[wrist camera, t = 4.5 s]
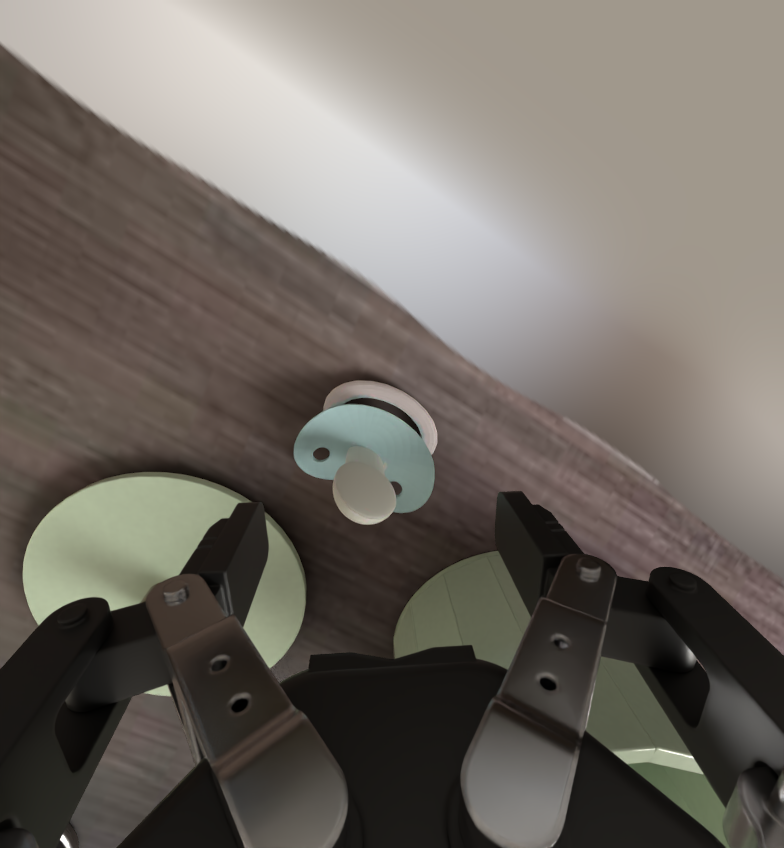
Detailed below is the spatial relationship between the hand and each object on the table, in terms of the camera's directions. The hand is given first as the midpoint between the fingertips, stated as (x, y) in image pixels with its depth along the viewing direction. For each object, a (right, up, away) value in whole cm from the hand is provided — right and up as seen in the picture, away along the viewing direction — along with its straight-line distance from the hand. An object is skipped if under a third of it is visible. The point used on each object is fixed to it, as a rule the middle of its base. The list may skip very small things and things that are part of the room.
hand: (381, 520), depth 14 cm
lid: (-12, -7, +10) cm, 17 cm away
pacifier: (-1, +3, +8) cm, 9 cm away
